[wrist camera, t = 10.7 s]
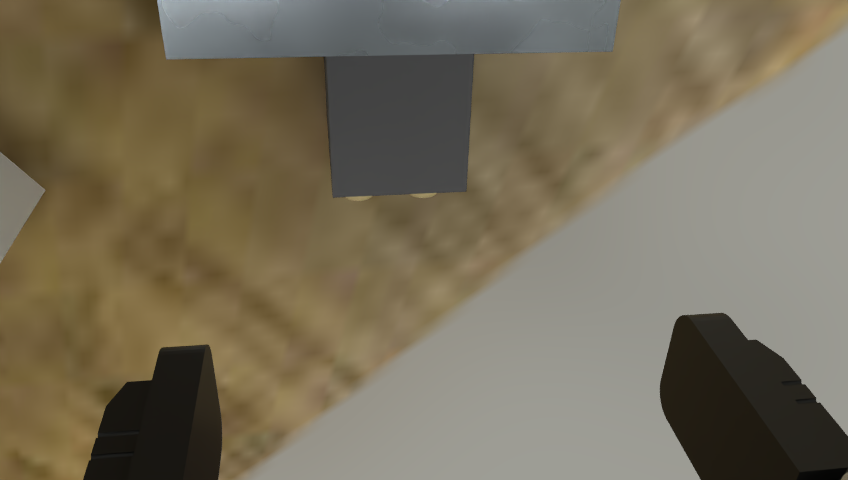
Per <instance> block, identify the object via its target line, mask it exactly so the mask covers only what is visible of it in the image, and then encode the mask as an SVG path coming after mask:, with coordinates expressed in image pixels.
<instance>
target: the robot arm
mask: <svg viewBox="0 0 848 480" xmlns="http://www.w3.org/2000/svg"><path fill="white" fill-rule="evenodd" d="M660 398H661V404H662V409H663V412H664V414H665V416H666V419H667V421H668V422H669V424H670V426H671V427H672V429H673V431H674V433H675V435H676V437H677V438H678V440H679V442H680V444H681V445H682V447H683V449H684V451H685V452H686V454H687V456H688V458H689V460H690V461H691V463H692V465H693V467H694V468H695V470H696V472H697V474H698V475H699V477H700V479H701V480H848V436H847V435H846V434H845V432H844V431H843V430H842V429H841V428H840V426H839V425H838V424H837V423H836V421H835V420H834V419H833V418H832V417H831V415H830V414H829V413H828V412H827V411H826V409H825V408H824V407H823V406H822V405H821V403H817V402H816V397H815V396H814V395H813V394H812V393H811V391H810V390H809V389H808V388H807V386H806V385H802V383H801V379H800V378H799V377H798V375H797V374H796V373H795V372H794V371H793V369H792V368H791V367H790V366H789V364H788V363H787V362H786V361H785V360H784V358H782V357H781V356H779V355H778V354H777V353H775V352H774V351H772V350H771V349H769V348H768V347H766V346H765V345H763V344H762V343H760V342H759V341H757V340H747V338H746V337H745V336H744V335H743V333H742V332H741V331H740V329H739V328H738V327H737V326H736V324H735V323H734V322H733V321H732V319H731V318H730V317H729V316H728V315H726V314H724V313H713V314H697V315H682V316H680V317H679V318H678V319H677V320H676V322H675V325H674V329H673V333H672V337H671V341H670V345H669V349H668V353H667V357H666V361H665V365H664V369H663V374H662V378H661V383H660ZM221 450H222V422H221V412H220V406H219V399H218V393H217V386H216V379H215V373H214V366H213V360H212V354H211V349H210V347H209V345H195V346H179V347H164V348H161V349H160V351H159V354H158V358H157V362H156V366H155V370H154V374H153V378H152V380H150V381H135V382H127V383H126V384H125V385H124V386H123V387H122V389H121V390H120V391H119V392H118V393H117V394H116V395H115V397H114V398H113V399H112V400H111V401H110V402H109V404H108V405H107V406H106V408H105V411H104V415H103V418H102V421H101V424H100V428H99V431H98V438H96V440H95V444H94V447H93V450H92V453H91V460H90V461H89V463H88V466H87V469H86V472H85V476H84V479H83V480H218V476H219V468H220V460H221Z"/></svg>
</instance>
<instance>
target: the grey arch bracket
mask: <svg viewBox="0 0 848 480" xmlns="http://www.w3.org/2000/svg"><path fill="white" fill-rule="evenodd" d="M620 1H621V0H157V2H158V9H159V15H160V22H161V28H162V35H163V42H164V48H165V55H166V59H214V58H271V57H327V56H384V55H440V54H497V53H553V52H610V51H613V46H614V39H615V33H616V26H617V20H618V14H619V7H620Z"/></svg>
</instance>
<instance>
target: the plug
mask: <svg viewBox="0 0 848 480" xmlns="http://www.w3.org/2000/svg"><path fill="white" fill-rule="evenodd" d="M324 64H325V85H326V105H327V124H328V138H329V152H330V165H331V179H332V192H333V198H334V197H345V198H347V199H349V200H352V201H363V200H367V199H369V198H371V197H372V196H379V195H401V194H410V195H411V196H414V197H417V198H429V197H432V196H434V195H435V194H436V193H445V192H466V189H467V171H468V153H469V135H470V117H471V99H472V82H473V64H474V54H440V55H384V56H327V57H324Z"/></svg>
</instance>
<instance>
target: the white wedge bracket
mask: <svg viewBox="0 0 848 480" xmlns="http://www.w3.org/2000/svg"><path fill="white" fill-rule="evenodd" d="M44 192H45V189H44V188H43V187H42V186H40V185H39V184H38V183H37V182H36V181H34V180H33V179H32V178H31V177H30V176H28V175H27V174H26V173H25V172H24V171H22V170H21V169H20V168H19V167H18V166H16V165H15V164H14V163H13V162H12V161H11V160H9V159H8V158H7V157H6V156H5V155H3V154H2V153H1V152H0V263H1V261H2V260H3V258H4V256H5V255H6V253H7V251H8V250H9V248H10V247H11V245H12V243H13V242H14V240H15V239H16V237H17V235H18V234H19V232H20V230H21V229H22V227H23V226H24V224H25V222H26V221H27V219H28V218H29V216H30V214H31V213H32V211H33V209H34V208H35V206H36V205H37V203H38V201H39V200H40V198H41V197H42V195H43V193H44Z"/></svg>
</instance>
